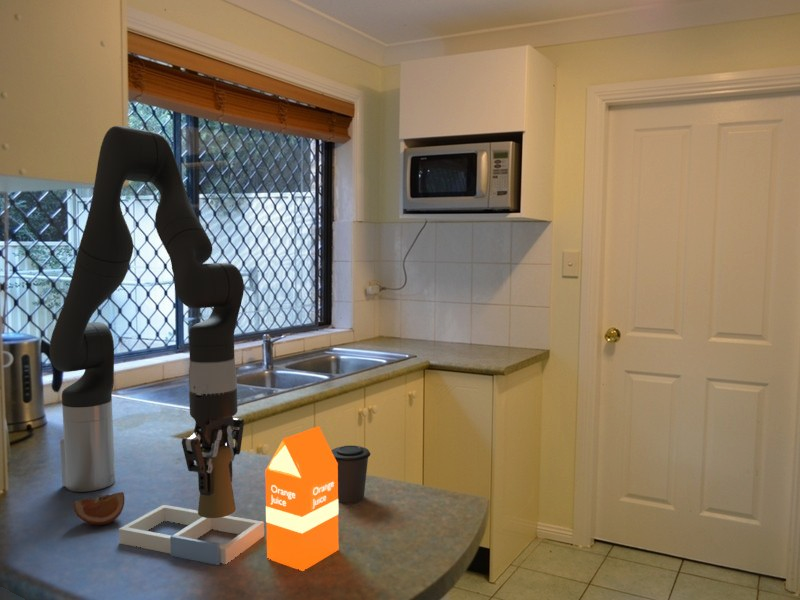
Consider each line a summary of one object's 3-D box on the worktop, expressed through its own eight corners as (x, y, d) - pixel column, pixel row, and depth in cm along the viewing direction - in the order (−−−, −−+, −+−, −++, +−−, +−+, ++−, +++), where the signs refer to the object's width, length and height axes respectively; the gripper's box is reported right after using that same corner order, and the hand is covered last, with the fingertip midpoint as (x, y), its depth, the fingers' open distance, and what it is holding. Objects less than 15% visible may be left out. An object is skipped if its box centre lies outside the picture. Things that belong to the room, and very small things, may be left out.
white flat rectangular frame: (116, 544, 115) (115, 526, 114) (163, 518, 125) (163, 500, 125) (223, 566, 107) (223, 546, 107) (264, 535, 118) (263, 517, 118)
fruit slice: (75, 534, 119) (73, 506, 118) (73, 520, 125) (71, 493, 124) (127, 525, 123) (126, 497, 122) (122, 511, 129) (121, 485, 128)
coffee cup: (378, 495, 136) (378, 445, 135) (355, 509, 129) (355, 457, 128) (344, 488, 140) (344, 439, 139) (320, 501, 133) (319, 450, 132)
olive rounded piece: (220, 501, 119) (219, 438, 118) (243, 509, 115) (241, 444, 114) (190, 511, 114) (188, 446, 113) (212, 521, 110) (210, 453, 109)
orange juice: (266, 558, 110) (263, 435, 108) (303, 538, 117) (301, 422, 115) (303, 571, 106) (301, 443, 104) (339, 549, 113) (338, 429, 111)
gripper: (220, 376, 120) (222, 472, 122) (164, 394, 107) (168, 501, 109) (257, 379, 118) (259, 477, 119) (205, 398, 104) (208, 507, 106)
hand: (216, 488), depth 114 cm, fingers closed on olive rounded piece, 4 cm apart
